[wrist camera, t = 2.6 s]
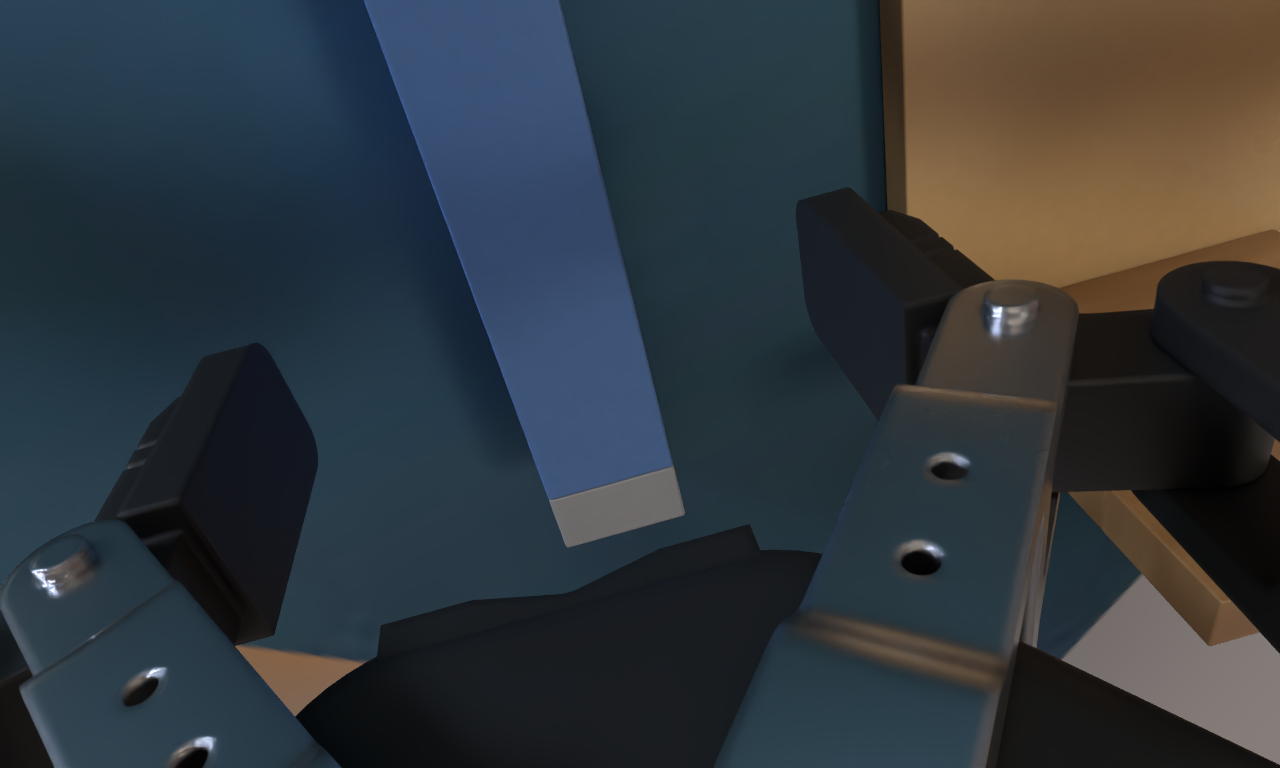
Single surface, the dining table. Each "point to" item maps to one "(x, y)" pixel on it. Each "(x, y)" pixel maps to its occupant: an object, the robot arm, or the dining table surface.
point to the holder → (1093, 171)
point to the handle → (537, 247)
